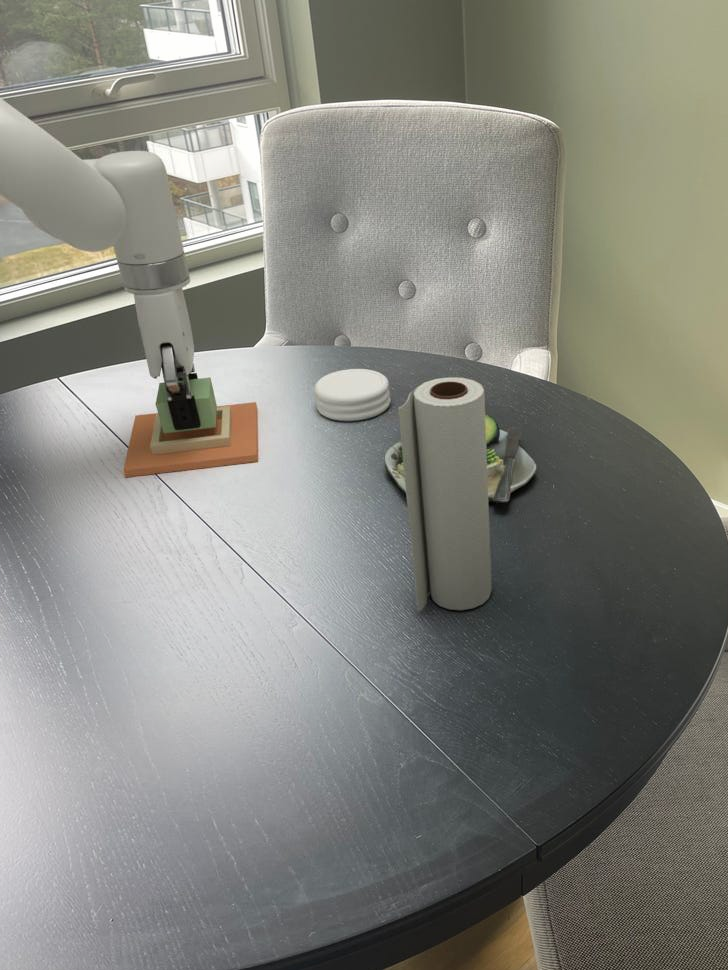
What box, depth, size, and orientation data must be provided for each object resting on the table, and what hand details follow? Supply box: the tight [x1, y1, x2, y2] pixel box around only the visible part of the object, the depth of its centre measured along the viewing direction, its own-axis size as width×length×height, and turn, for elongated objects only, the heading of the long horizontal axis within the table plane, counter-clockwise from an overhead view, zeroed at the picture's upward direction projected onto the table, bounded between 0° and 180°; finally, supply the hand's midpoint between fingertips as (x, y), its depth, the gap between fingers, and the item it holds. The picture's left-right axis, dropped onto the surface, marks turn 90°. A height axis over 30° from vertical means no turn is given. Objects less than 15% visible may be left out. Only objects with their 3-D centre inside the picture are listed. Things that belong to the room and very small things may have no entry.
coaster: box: [313, 368, 391, 422], centre depth 130 cm, size 10×10×4 cm
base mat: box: [122, 401, 259, 478], centre depth 124 cm, size 16×16×2 cm
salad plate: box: [383, 413, 537, 504], centre depth 113 cm, size 19×18×5 cm
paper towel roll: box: [397, 376, 493, 613], centre depth 89 cm, size 7×6×21 cm
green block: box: [155, 377, 218, 433], centre depth 122 cm, size 6×6×4 cm
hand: (189, 414), depth 123 cm, fingers closed on green block, 6 cm apart
